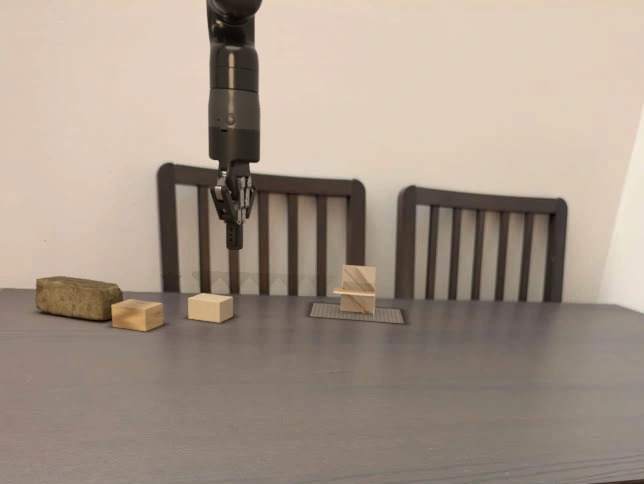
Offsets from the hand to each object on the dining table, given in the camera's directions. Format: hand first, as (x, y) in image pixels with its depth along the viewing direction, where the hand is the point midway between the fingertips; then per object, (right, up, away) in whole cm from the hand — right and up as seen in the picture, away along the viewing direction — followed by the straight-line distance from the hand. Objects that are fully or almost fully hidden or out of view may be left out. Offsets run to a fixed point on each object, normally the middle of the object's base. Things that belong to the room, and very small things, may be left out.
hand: (234, 249), depth 113 cm
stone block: (-20, -12, -9) cm, 26 cm away
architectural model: (+19, -8, +8) cm, 22 cm away
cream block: (-3, -11, -4) cm, 12 cm away
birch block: (-11, -14, -12) cm, 22 cm away
